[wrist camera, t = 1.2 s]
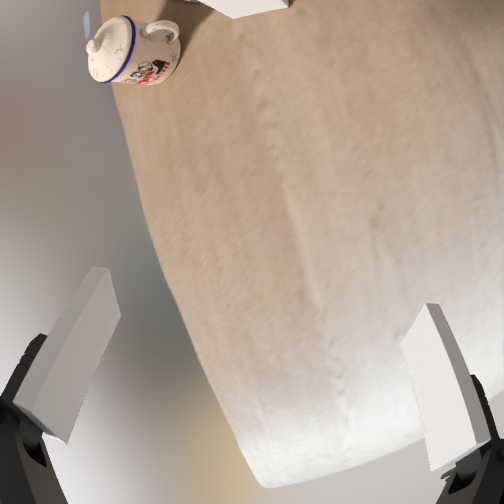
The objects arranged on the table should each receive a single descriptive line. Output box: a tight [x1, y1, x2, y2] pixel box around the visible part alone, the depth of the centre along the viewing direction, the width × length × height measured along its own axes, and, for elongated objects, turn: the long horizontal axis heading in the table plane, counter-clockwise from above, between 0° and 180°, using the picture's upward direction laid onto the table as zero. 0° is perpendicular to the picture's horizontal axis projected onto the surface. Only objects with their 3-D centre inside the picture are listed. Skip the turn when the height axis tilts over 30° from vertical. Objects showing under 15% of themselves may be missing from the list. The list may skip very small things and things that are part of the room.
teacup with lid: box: [86, 16, 181, 85], centre depth 28 cm, size 12×9×12 cm
